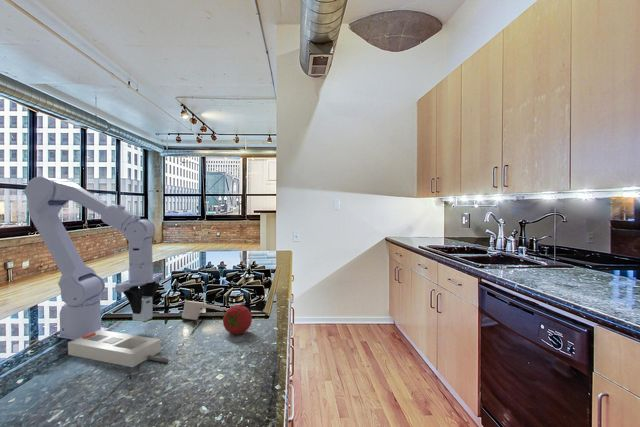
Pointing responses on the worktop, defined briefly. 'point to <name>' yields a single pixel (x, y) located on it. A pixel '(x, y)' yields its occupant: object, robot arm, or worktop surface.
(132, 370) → the worktop surface
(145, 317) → the block
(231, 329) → the tomato
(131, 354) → the power strip
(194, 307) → the toilet paper hanger
